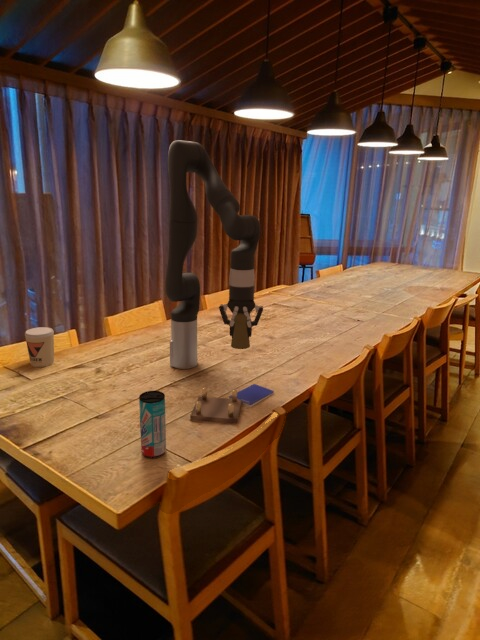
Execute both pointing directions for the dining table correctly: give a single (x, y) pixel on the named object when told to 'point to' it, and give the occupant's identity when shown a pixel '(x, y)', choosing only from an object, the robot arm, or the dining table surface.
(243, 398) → the hard drive
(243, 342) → the cork
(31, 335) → the coffee cup
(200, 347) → the dining table surface
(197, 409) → the walnut stand
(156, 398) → the beverage can
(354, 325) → the dining table surface
